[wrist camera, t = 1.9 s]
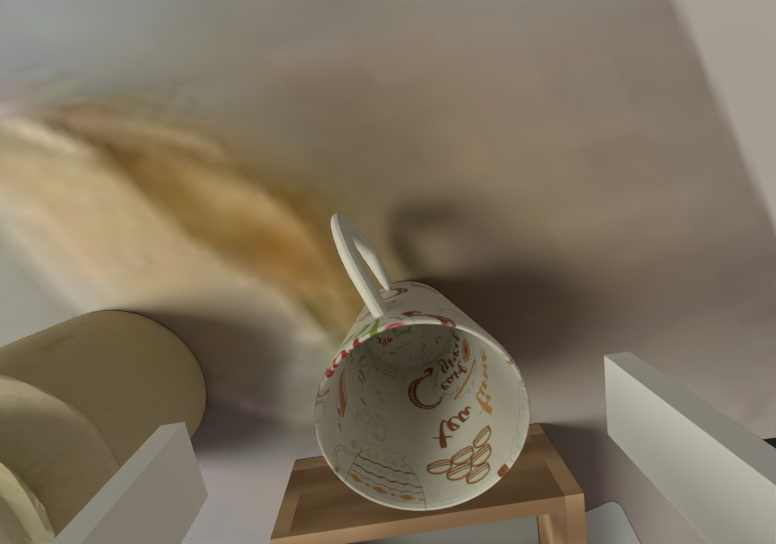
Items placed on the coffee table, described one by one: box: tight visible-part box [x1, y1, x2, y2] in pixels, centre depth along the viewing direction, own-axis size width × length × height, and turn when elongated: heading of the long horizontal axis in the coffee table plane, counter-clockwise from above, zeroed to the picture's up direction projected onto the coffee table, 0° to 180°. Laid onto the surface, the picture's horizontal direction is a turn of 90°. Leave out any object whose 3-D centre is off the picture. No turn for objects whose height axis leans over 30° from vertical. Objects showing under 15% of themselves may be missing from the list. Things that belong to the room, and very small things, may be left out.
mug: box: [315, 213, 530, 511], centre depth 19 cm, size 8×13×10 cm, turn 29°
